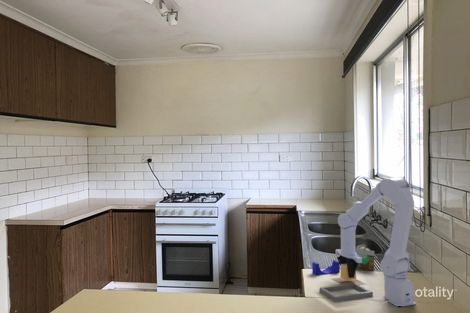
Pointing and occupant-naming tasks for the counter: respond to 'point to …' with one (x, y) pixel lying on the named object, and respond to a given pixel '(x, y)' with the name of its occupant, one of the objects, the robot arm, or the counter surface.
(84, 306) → the counter surface
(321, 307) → the counter surface
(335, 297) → the parts tray
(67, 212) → the counter surface
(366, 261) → the food container
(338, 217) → the robot arm
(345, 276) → the yellow and white block
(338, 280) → the brown square tile
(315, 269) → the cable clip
